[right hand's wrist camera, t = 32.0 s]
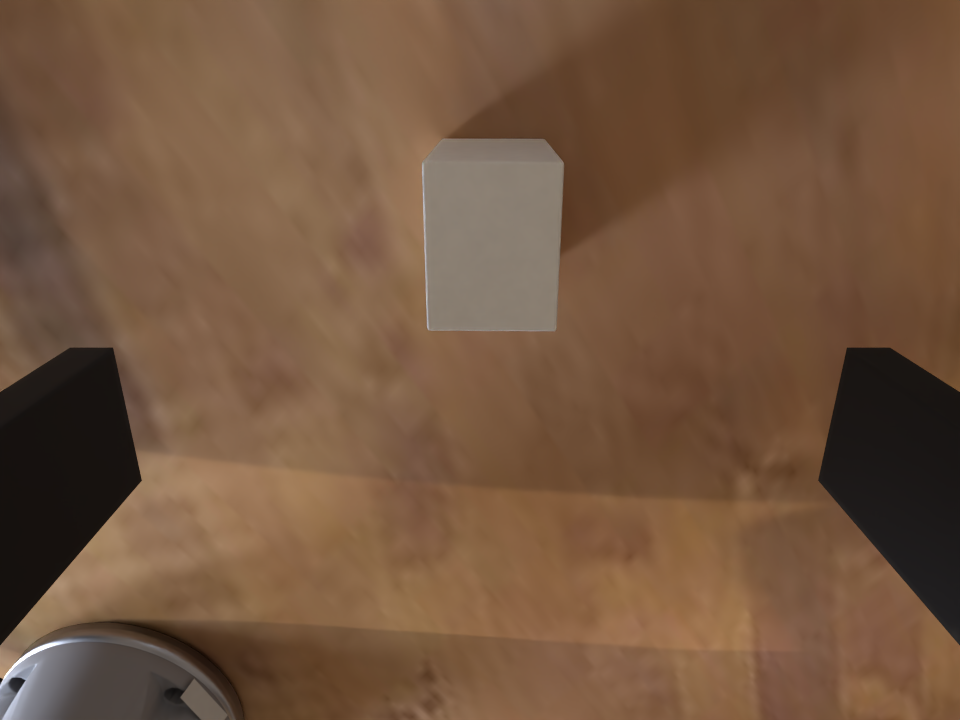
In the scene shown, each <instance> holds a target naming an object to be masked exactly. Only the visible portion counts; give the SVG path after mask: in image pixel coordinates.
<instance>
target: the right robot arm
mask: <svg viewBox="0 0 960 720" xmlns="http://www.w3.org/2000/svg"><path fill="white" fill-rule="evenodd" d="M141 481H142V480H141V475H140V470H139V466H138V461H137V456H136V452H135V447H134V443H133V438H132V433H131V429H130V424H129V420H128V415H127V410H126V406H125V401H124V397H123V392H122V387H121V383H120V378H119V373H118V369H117V364H116V360H115V355H114V350H113V348H69V349H67V350H66V351H64V352H63V353H61V354H59V355H58V356H56V357H55V358H53V359H52V360H50V361H49V362H47V363H45V364H44V365H42V366H41V367H39V368H38V369H36V370H34V371H33V372H31V373H30V374H28V375H27V376H25V377H23V378H22V379H20V380H19V381H17V382H16V383H14V384H12V385H11V386H9V387H8V388H6V389H5V390H3V391H1V392H0V645H1V644H2V643H3V641H4V640H5V639H6V638H7V637H8V636H9V634H10V633H11V632H12V631H13V630H14V629H15V627H16V626H17V625H18V624H19V623H20V622H21V620H22V619H23V618H24V617H25V616H26V615H27V613H28V612H29V611H30V610H31V609H32V608H33V607H34V605H35V604H36V603H37V602H38V601H39V600H40V598H41V597H42V596H43V595H44V594H45V593H46V591H47V590H48V589H49V588H50V587H51V586H52V584H53V583H54V582H55V581H56V580H57V579H58V577H59V576H60V575H61V574H62V573H63V572H64V570H65V569H66V568H67V567H68V566H69V565H70V563H71V562H72V561H73V560H74V559H75V558H76V556H77V555H78V554H79V553H80V552H81V551H82V549H83V548H84V547H85V546H86V545H87V544H88V542H89V541H90V540H91V539H92V538H93V537H94V535H95V534H96V533H97V532H98V531H99V530H100V528H101V527H102V526H103V525H104V524H105V523H106V522H107V520H108V519H109V518H110V517H111V516H112V515H113V513H114V512H115V511H116V510H117V509H118V508H119V506H120V505H121V504H122V503H123V502H124V501H125V499H126V498H127V497H128V496H129V495H130V494H131V492H132V491H133V490H134V489H135V488H136V487H137V485H138V484H139V483H140V482H141ZM818 481H819V482H820V483H821V484H822V485H823V487H824V488H825V489H826V490H827V491H828V492H829V494H830V495H831V496H832V497H833V498H834V499H835V501H836V502H837V503H838V504H839V505H840V506H841V508H842V509H843V510H844V511H845V512H846V513H847V515H848V516H849V517H850V518H851V519H852V520H853V522H854V523H855V524H856V525H857V526H858V527H859V529H860V530H861V531H862V532H863V533H864V534H865V535H866V537H867V538H868V539H869V540H870V541H871V542H872V544H873V545H874V546H875V547H876V548H877V549H878V551H879V552H880V553H881V554H882V555H883V556H884V558H885V559H886V560H887V561H888V562H889V563H890V565H891V566H892V567H893V568H894V569H895V570H896V572H897V573H898V574H899V575H900V576H901V577H902V579H903V580H904V581H905V582H906V583H907V584H908V586H909V587H910V588H911V589H912V590H913V591H914V593H915V594H916V595H917V596H918V597H919V598H920V600H921V601H922V602H923V603H924V604H925V605H926V607H927V608H928V609H929V610H930V611H931V612H932V613H933V615H934V616H935V617H936V618H937V619H938V620H939V622H940V623H941V624H942V625H943V626H944V627H945V629H946V630H947V631H948V632H949V633H950V634H951V636H952V637H953V638H954V639H955V640H956V641H957V643H958V644H959V645H960V392H959V391H957V390H955V389H954V388H952V387H951V386H949V385H948V384H946V383H944V382H943V381H941V380H940V379H938V378H937V377H935V376H933V375H932V374H930V373H929V372H927V371H926V370H924V369H922V368H921V367H919V366H918V365H916V364H915V363H913V362H911V361H910V360H908V359H907V358H905V357H904V356H902V355H901V354H899V353H897V352H896V351H894V350H893V349H891V348H847V350H846V355H845V360H844V364H843V369H842V373H841V378H840V383H839V387H838V392H837V397H836V401H835V406H834V410H833V415H832V420H831V424H830V429H829V433H828V438H827V443H826V447H825V452H824V456H823V461H822V466H821V470H820V475H819V480H818ZM0 720H244V716H243V710H242V707H241V704H240V701H239V699H238V696H237V694H236V692H235V690H234V689H233V687H232V685H231V684H230V683H229V681H228V680H227V678H226V677H225V676H224V675H223V674H222V673H221V671H220V670H219V669H218V668H217V667H216V666H215V665H214V664H213V663H211V662H210V661H209V660H208V659H207V658H205V657H204V656H203V655H201V654H200V653H199V652H197V651H196V650H194V649H193V648H191V647H189V646H187V645H186V644H184V643H182V642H180V641H178V640H176V639H174V638H172V637H169V636H167V635H164V634H162V633H159V632H156V631H153V630H150V629H146V628H142V627H138V626H133V625H128V624H120V623H104V622H99V623H85V624H77V625H73V626H68V627H65V628H62V629H59V630H56V631H54V632H51V633H49V634H47V635H45V636H43V637H42V638H40V639H39V640H37V641H36V642H34V643H33V644H32V645H31V646H30V647H29V648H28V649H27V650H26V651H25V652H24V653H23V654H22V656H21V657H20V658H19V659H18V660H17V662H16V663H15V664H14V665H13V667H12V668H11V669H10V670H9V672H8V673H7V674H6V675H5V677H4V679H2V678H0Z"/></svg>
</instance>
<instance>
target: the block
mask: <svg viewBox="0 0 960 720" xmlns="http://www.w3.org/2000/svg"><path fill="white" fill-rule="evenodd" d="M563 179H564V162H563V161H562V160H561V158H560V157H559V156H558V155H557V154H556V152H555V151H554V150H553V149H552V147H551V146H550V145H549V144H548V143H547V141H546V140H545V139H441V141H440V142H439V143H438V144H437V145H436V146H435V148H434V149H433V150H432V151H431V152H430V154H429V155H428V156H427V157H426V158H425V160H424V161H423V162H422V180H423V212H424V244H425V275H426V307H427V329H428V330H441V331H556V329H557V308H558V286H559V265H560V243H561V222H562V201H563Z"/></svg>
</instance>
